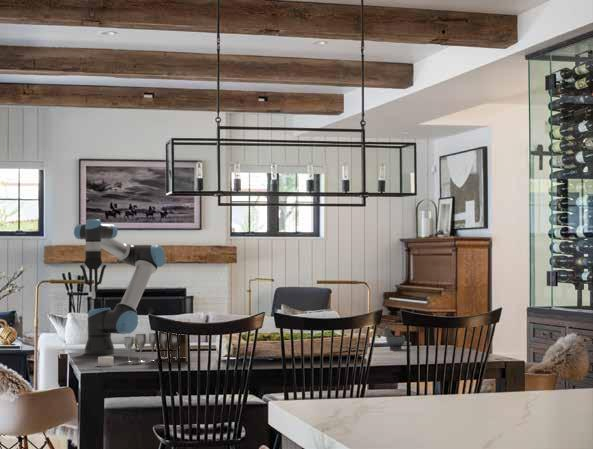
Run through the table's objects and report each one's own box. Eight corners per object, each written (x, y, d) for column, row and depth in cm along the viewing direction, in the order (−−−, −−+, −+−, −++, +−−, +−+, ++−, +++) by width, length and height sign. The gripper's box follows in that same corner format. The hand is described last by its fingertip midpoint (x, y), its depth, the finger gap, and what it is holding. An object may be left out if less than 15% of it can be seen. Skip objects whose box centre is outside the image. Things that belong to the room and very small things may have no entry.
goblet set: (125, 363, 449) (124, 335, 449) (122, 362, 454) (122, 334, 455) (183, 360, 458) (183, 332, 459) (180, 359, 464) (180, 331, 464)
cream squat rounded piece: (98, 365, 443) (98, 356, 443) (114, 364, 444) (114, 356, 444) (97, 366, 436) (97, 358, 436) (112, 366, 437) (112, 357, 437)
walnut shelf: (156, 358, 465) (156, 319, 465) (189, 358, 466) (189, 319, 467) (154, 363, 445) (154, 322, 446) (188, 363, 446) (188, 322, 447)
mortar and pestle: (404, 348, 504) (403, 325, 505) (406, 350, 495) (405, 327, 495) (382, 348, 504) (382, 325, 505) (384, 350, 495) (384, 327, 495)
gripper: (78, 250, 465) (78, 299, 465) (105, 250, 466) (106, 298, 466) (80, 250, 473) (81, 298, 472) (107, 250, 474) (107, 298, 473)
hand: (93, 298), depth 469 cm, fingers closed
